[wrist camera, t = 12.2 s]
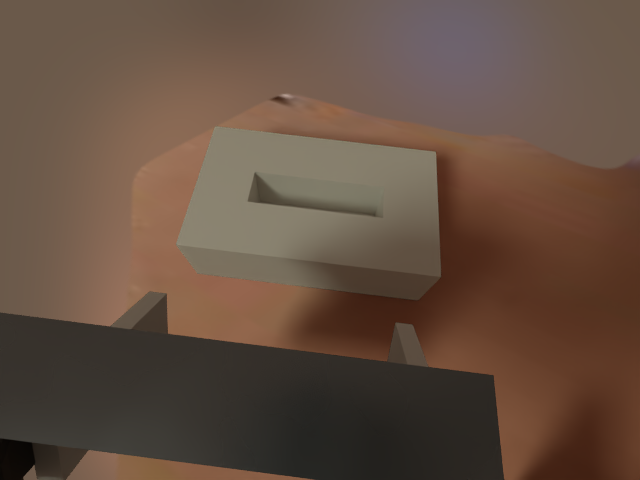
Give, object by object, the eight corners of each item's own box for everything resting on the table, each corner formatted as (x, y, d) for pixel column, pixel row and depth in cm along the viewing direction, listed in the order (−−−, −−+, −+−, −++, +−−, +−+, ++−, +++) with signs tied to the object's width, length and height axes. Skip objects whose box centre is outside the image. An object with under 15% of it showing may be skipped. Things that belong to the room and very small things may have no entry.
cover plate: (363, 404, 21) (493, 375, 7) (360, 442, 20) (506, 504, 6) (196, 382, 21) (-26, 309, 7) (187, 420, 20) (-92, 425, 6)
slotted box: (416, 190, 37) (435, 151, 32) (418, 300, 32) (441, 276, 26) (228, 167, 37) (215, 126, 32) (197, 273, 32) (176, 244, 27)
